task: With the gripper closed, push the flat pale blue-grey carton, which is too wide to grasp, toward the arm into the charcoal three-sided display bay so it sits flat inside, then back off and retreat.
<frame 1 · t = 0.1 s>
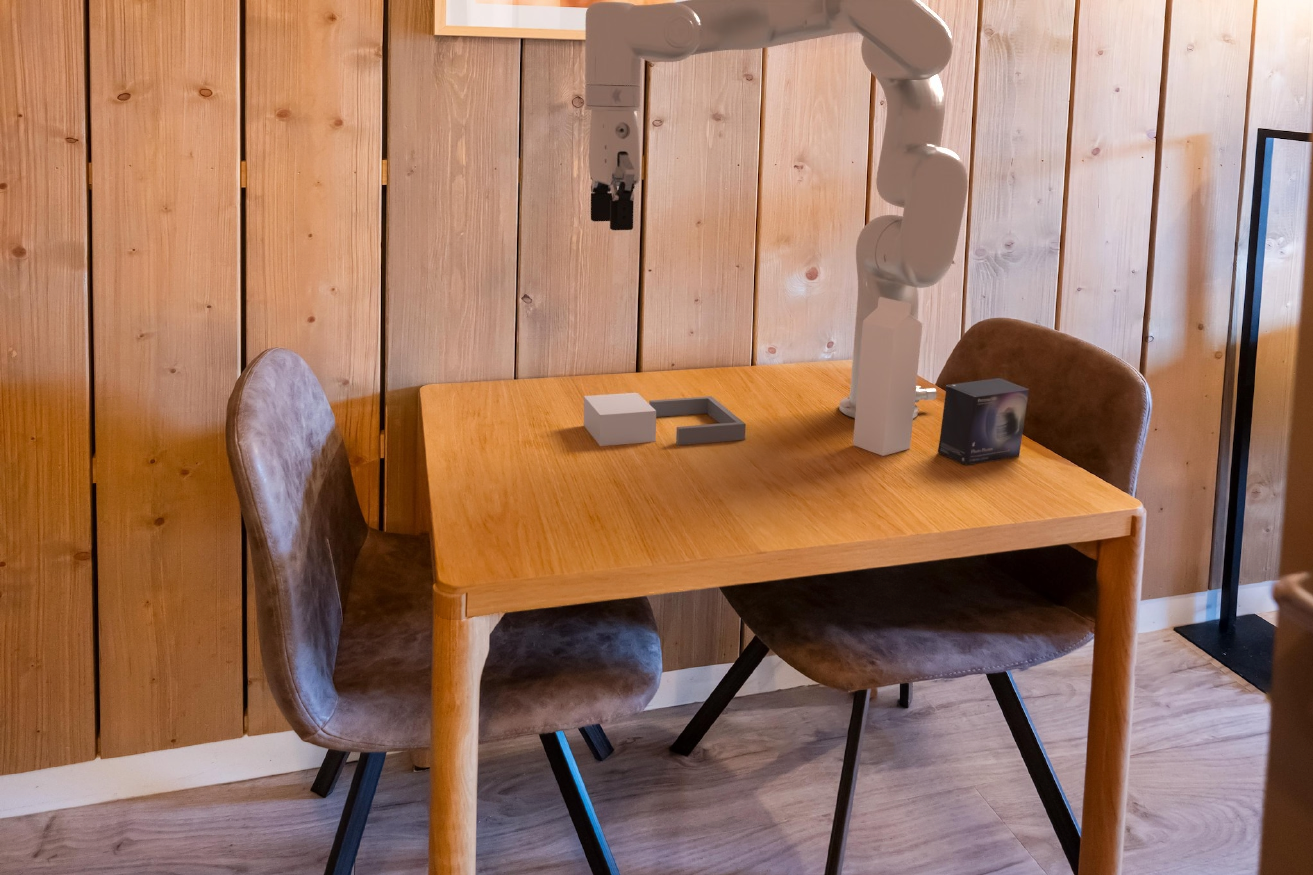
hand: (611, 225, 152), 31 cm above the table, fingers open, 9 cm apart
display bay: (695, 427, 166), on the table
small box: (978, 456, 156), on the table
milk: (881, 448, 158), on the table
carton: (619, 434, 162), on the table
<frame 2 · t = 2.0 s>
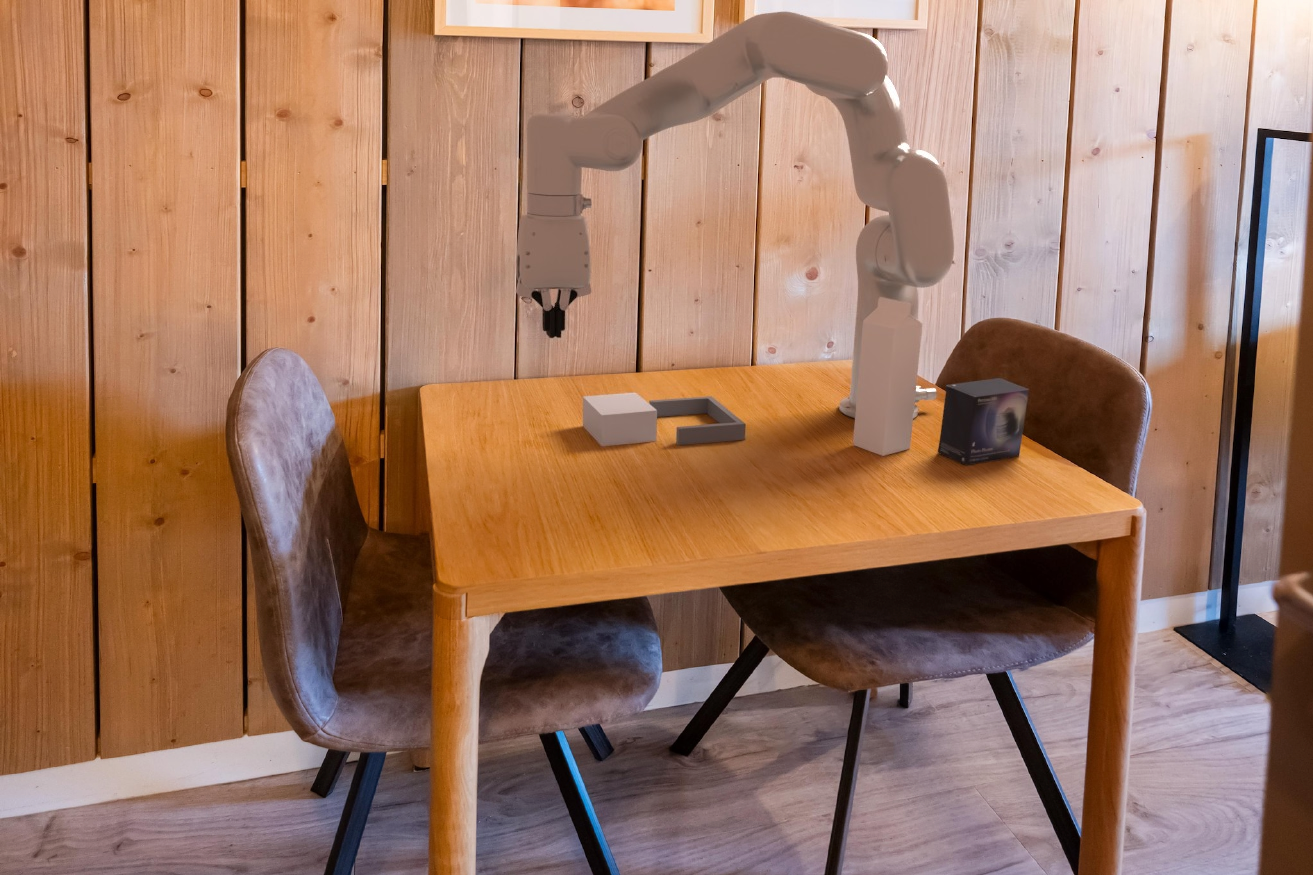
hand: (553, 335, 154), 16 cm above the table, fingers closed
nothing on the table moved.
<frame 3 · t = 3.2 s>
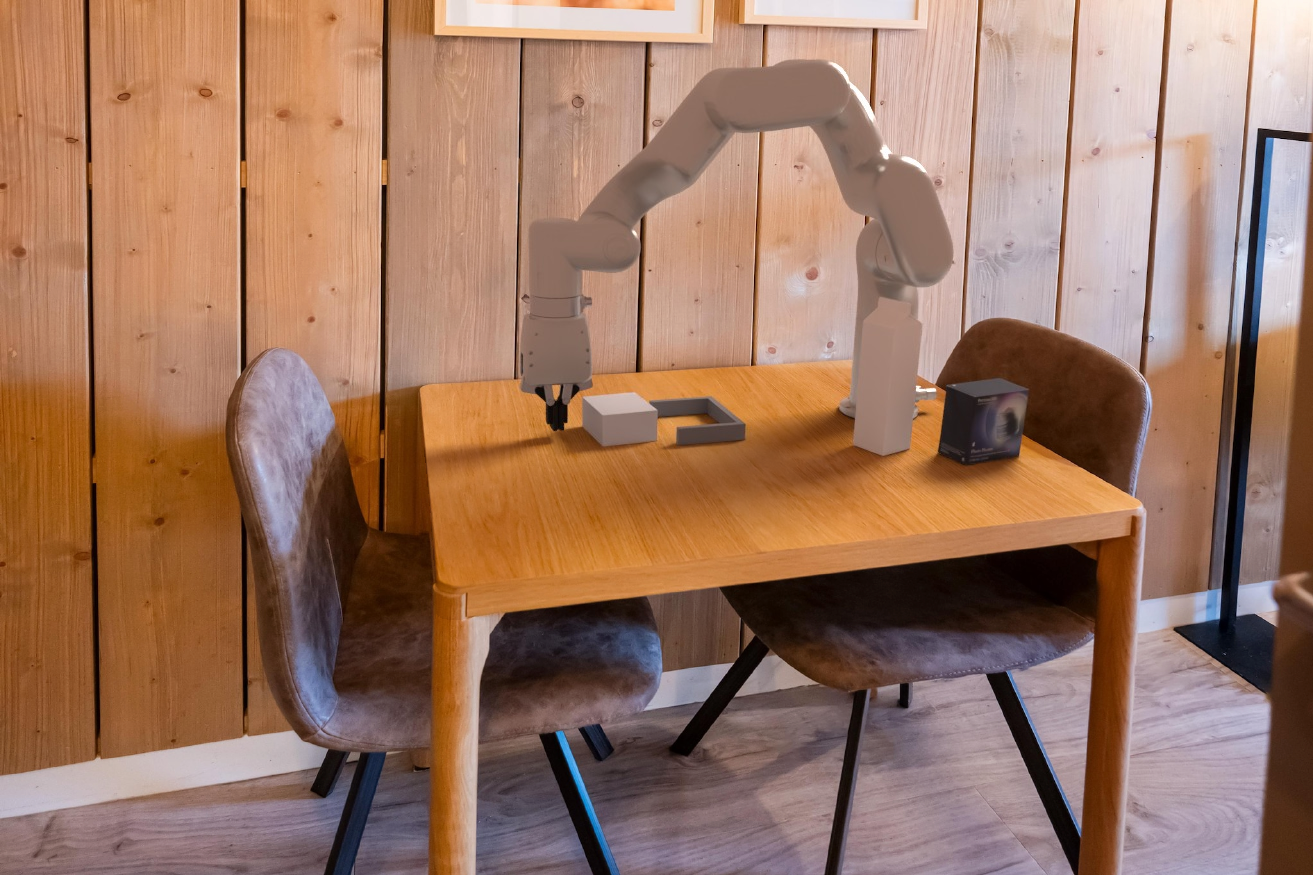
hand: (556, 428, 159), 2 cm above the table, fingers closed
nothing on the table moved.
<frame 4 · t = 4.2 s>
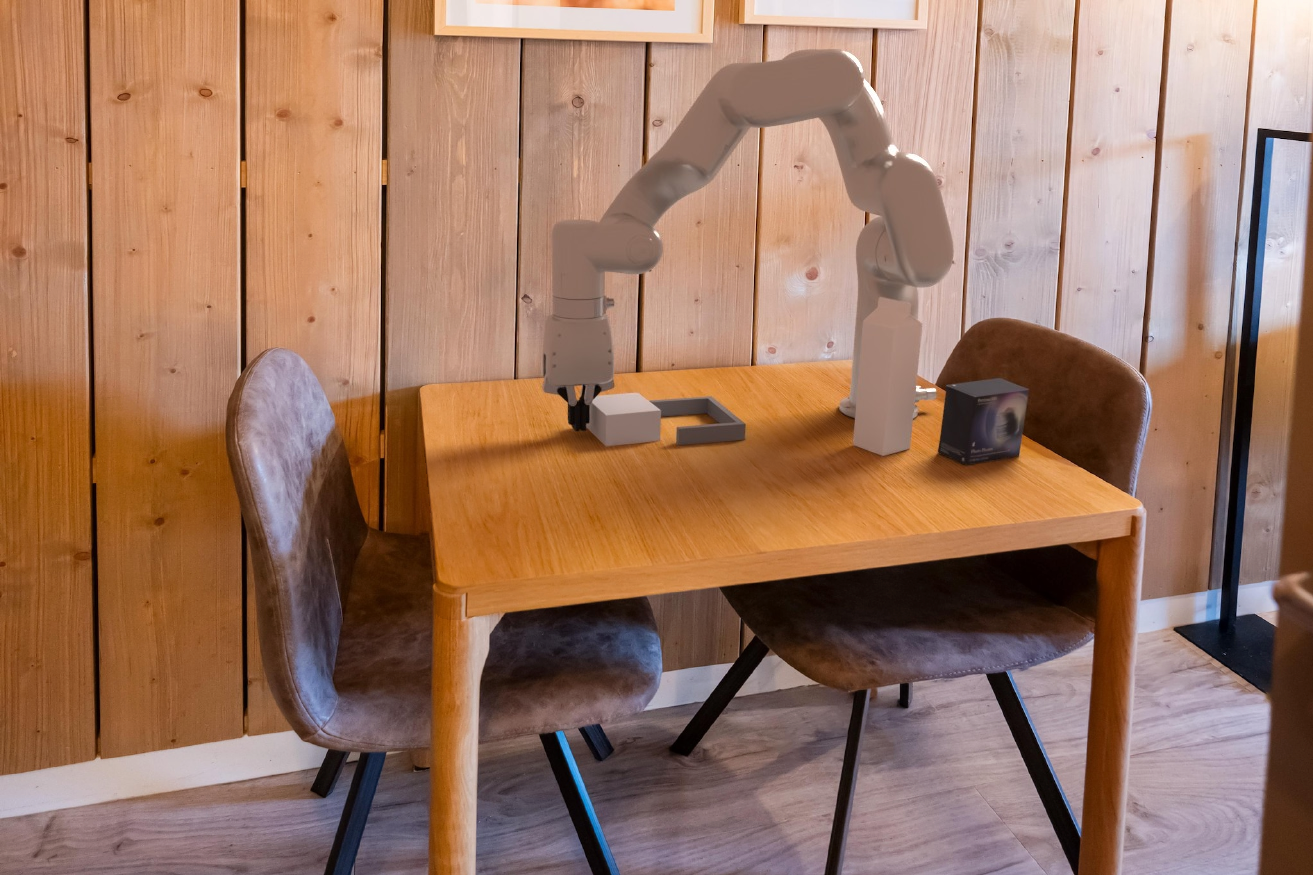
hand: (578, 428, 160), 1 cm above the table, fingers closed
nothing on the table moved.
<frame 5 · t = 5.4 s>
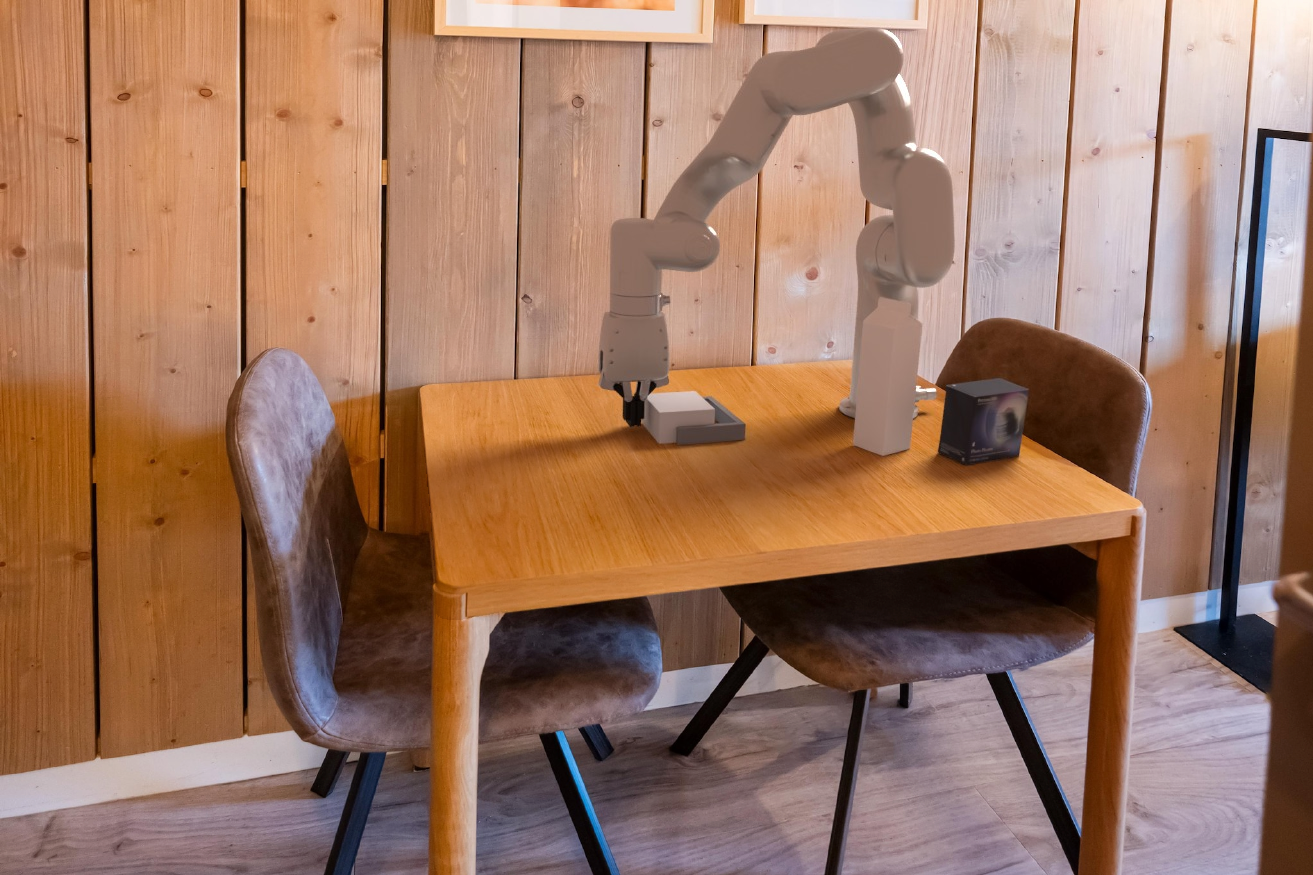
hand: (633, 423, 162), 1 cm above the table, fingers closed
carton: (677, 432, 164), on the table, touching gripper
everything else where it was.
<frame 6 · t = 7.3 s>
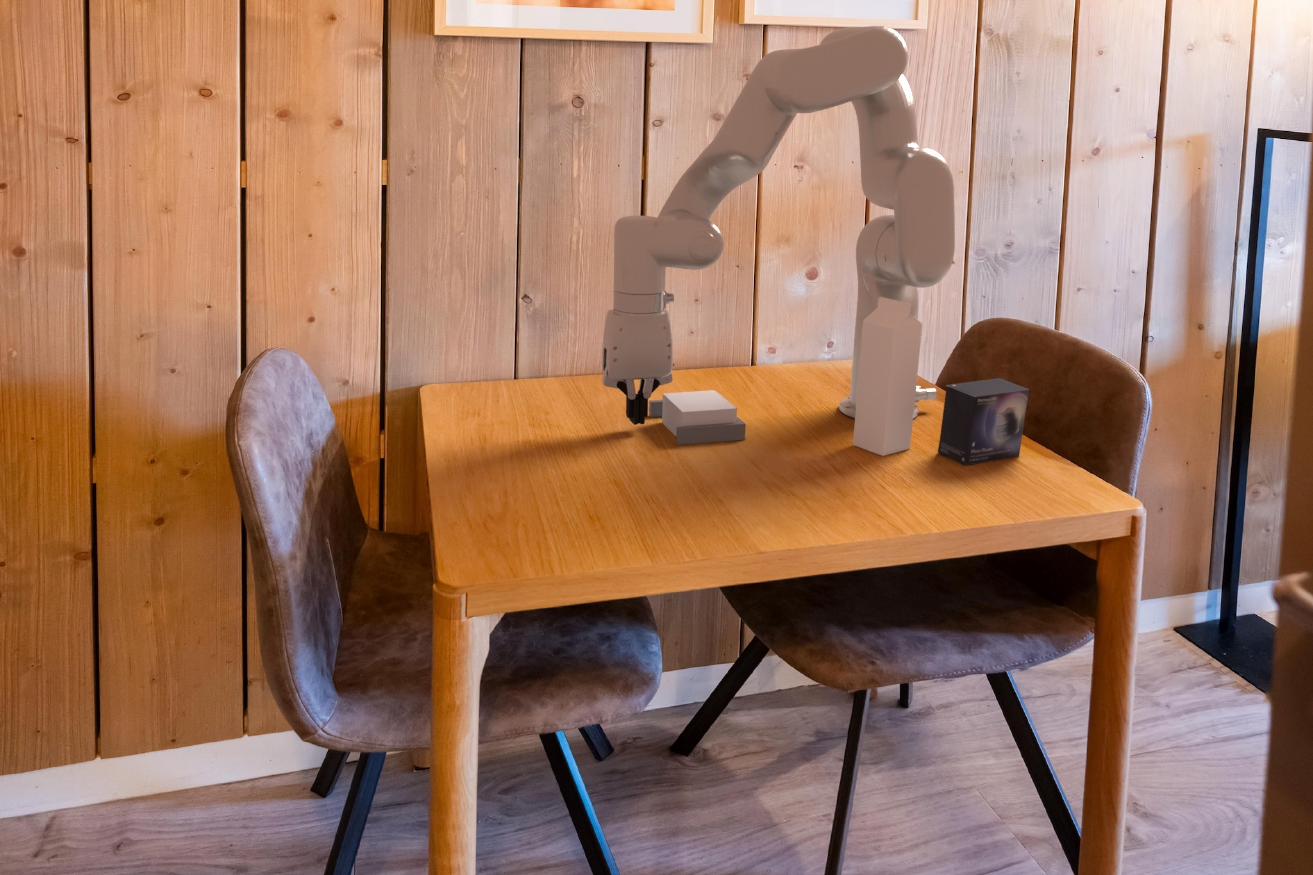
hand: (636, 421, 162), 2 cm above the table, fingers closed
carton: (698, 431, 164), on the table
everything else where it was.
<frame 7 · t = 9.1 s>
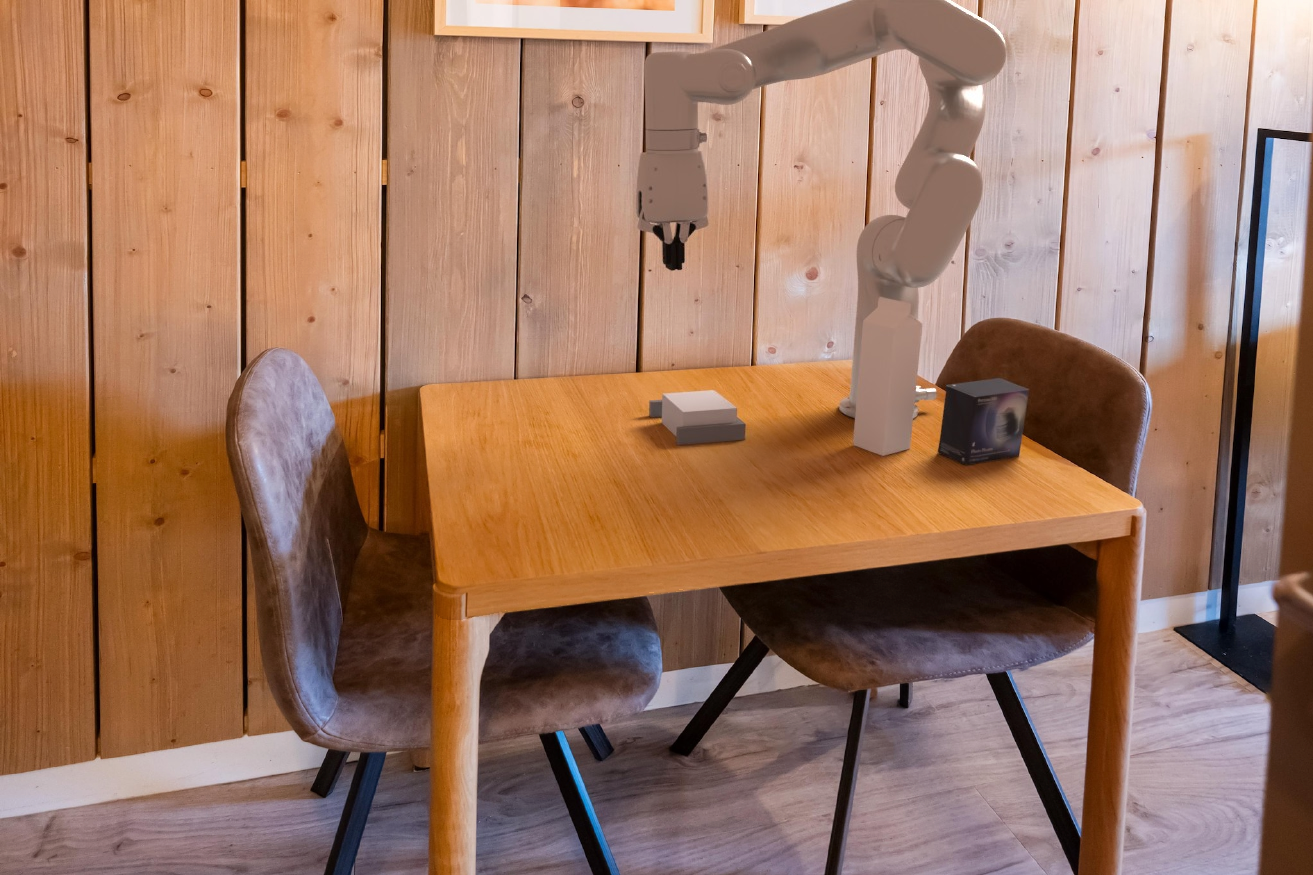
hand: (673, 268, 161), 24 cm above the table, fingers closed
nothing on the table moved.
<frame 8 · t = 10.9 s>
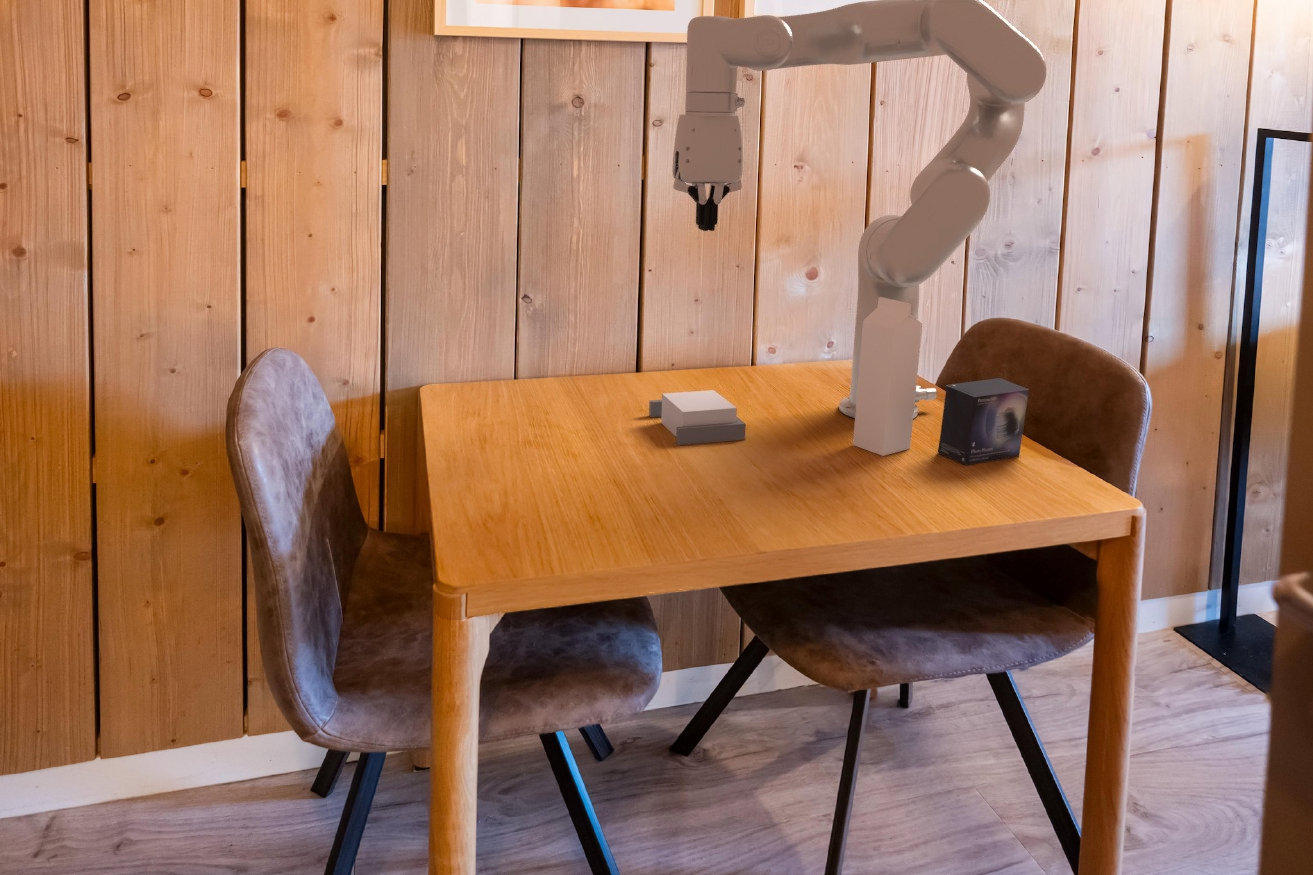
hand: (706, 229, 165), 29 cm above the table, fingers closed
nothing on the table moved.
at the end: carton 1.5 cm off-centre on the display bay, point 0.0 cm above the display bay's base; carton tilted 0°; carton moved 12.2 cm from its start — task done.
